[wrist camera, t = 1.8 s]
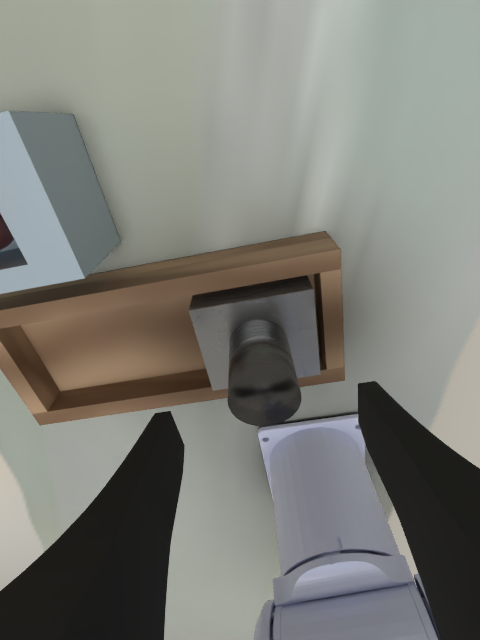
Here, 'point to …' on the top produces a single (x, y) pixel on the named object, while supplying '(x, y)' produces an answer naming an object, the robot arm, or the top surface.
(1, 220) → the button
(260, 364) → the carriage
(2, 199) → the button housing
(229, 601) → the top surface
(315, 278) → the rail
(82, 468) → the top surface
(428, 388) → the top surface
